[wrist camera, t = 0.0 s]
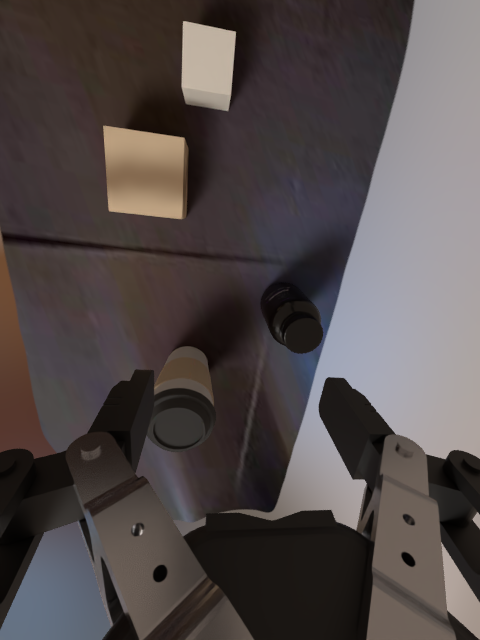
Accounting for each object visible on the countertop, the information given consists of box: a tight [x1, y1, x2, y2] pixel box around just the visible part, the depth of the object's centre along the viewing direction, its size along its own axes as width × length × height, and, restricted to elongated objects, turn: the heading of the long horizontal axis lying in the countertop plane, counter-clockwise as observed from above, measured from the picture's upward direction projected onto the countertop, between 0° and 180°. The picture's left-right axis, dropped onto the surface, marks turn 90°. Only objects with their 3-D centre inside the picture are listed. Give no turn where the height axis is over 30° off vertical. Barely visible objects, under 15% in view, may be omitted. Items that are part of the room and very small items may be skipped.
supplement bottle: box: [261, 282, 323, 354], centre depth 37 cm, size 7×7×12 cm
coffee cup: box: [146, 346, 216, 452], centre depth 38 cm, size 9×9×15 cm
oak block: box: [103, 126, 189, 219], centre depth 32 cm, size 8×8×6 cm
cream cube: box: [182, 21, 236, 111], centre depth 29 cm, size 5×5×5 cm
